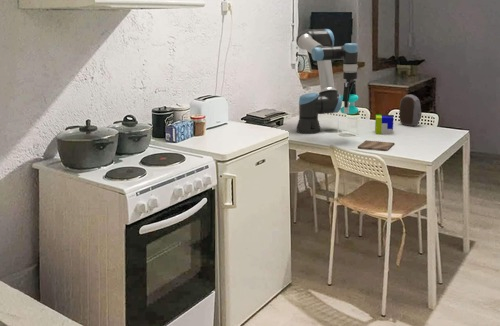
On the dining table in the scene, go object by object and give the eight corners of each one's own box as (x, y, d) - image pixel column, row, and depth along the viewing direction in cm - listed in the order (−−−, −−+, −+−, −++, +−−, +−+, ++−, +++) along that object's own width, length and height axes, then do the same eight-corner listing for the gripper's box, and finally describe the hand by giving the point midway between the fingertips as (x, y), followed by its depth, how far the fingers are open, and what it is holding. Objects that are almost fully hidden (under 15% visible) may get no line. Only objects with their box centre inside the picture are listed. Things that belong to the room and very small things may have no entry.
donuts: (360, 94, 299) (356, 96, 290) (359, 111, 301) (355, 114, 293) (343, 93, 302) (338, 96, 294) (342, 110, 305) (338, 113, 296)
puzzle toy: (392, 134, 316) (393, 118, 313) (375, 134, 318) (376, 117, 315) (391, 130, 326) (392, 114, 323) (375, 130, 328) (375, 114, 325)
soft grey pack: (396, 124, 345) (397, 93, 339) (404, 122, 349) (406, 92, 344) (415, 127, 333) (417, 96, 327) (423, 125, 338) (425, 94, 332)
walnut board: (357, 148, 285) (357, 146, 285) (365, 142, 298) (365, 140, 298) (387, 151, 278) (387, 149, 277) (394, 144, 291) (394, 142, 291)
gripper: (350, 74, 281) (349, 115, 287) (362, 69, 300) (361, 108, 307) (337, 73, 285) (336, 114, 291) (349, 69, 304) (348, 107, 310)
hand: (349, 111), depth 299 cm, fingers closed on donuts, 10 cm apart
